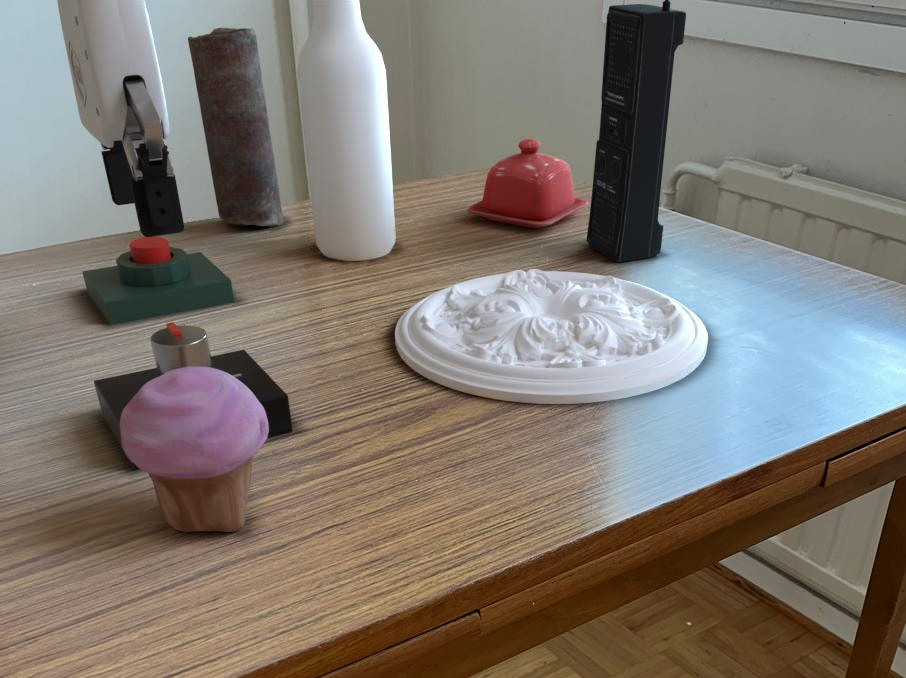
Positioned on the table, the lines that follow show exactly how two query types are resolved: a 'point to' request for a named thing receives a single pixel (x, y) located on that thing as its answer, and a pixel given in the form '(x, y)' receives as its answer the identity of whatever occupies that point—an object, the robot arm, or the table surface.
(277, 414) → the dial panel
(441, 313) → the ceiling medallion
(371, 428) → the table surface
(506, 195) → the butter dish
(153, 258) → the button
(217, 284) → the box
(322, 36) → the white bottle
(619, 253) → the portable radio
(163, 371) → the dial
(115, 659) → the table surface
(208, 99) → the candle
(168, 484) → the cupcake
